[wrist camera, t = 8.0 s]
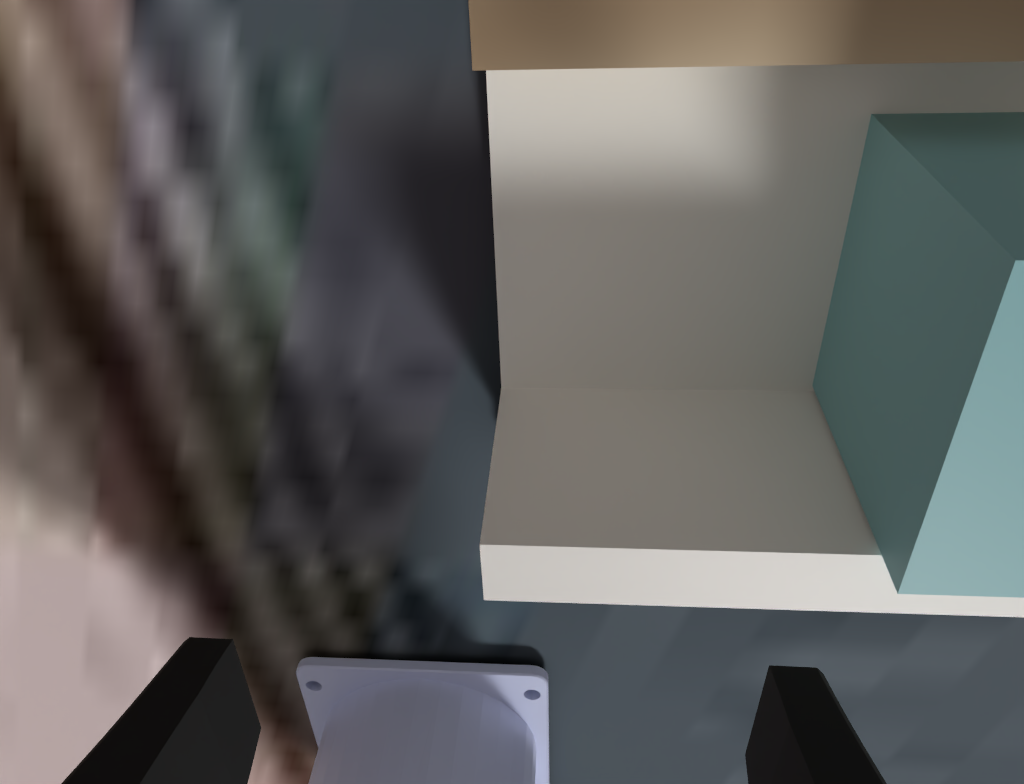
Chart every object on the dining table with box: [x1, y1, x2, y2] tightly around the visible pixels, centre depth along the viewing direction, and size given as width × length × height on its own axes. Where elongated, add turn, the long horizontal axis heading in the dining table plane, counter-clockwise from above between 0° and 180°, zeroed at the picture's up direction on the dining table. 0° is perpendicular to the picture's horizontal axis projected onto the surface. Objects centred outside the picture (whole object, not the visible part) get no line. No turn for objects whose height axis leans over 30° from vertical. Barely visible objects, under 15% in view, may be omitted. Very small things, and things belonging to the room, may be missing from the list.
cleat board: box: [468, 0, 1024, 617], centre depth 14 cm, size 11×18×6 cm, turn 92°
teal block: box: [812, 112, 1024, 598], centre depth 14 cm, size 6×4×6 cm, turn 2°
